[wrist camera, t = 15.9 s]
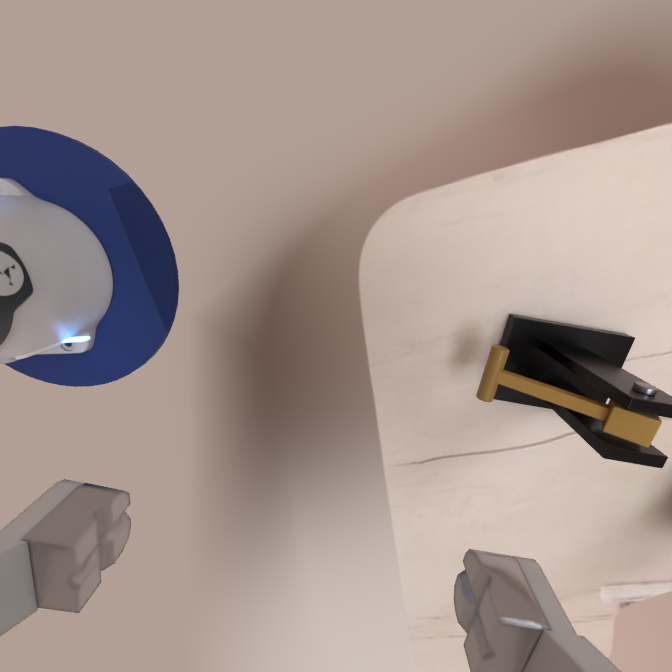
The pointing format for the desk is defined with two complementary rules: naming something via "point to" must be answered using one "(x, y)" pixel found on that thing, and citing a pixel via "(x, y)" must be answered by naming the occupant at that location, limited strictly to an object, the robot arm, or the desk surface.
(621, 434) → the lever
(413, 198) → the desk surface
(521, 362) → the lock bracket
